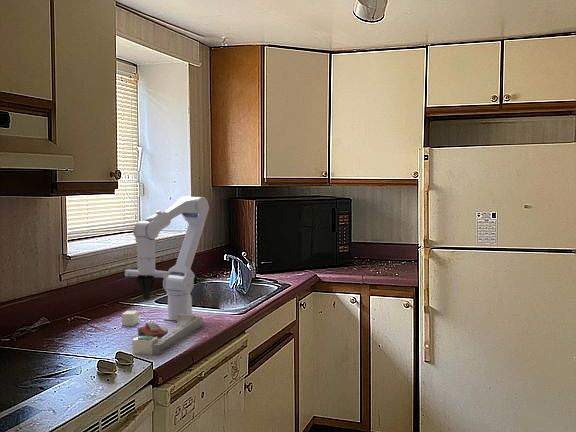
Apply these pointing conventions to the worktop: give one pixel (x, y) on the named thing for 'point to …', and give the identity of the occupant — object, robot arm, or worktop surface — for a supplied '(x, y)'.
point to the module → (129, 318)
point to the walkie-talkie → (152, 330)
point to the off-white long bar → (167, 336)
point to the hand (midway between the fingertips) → (146, 298)
